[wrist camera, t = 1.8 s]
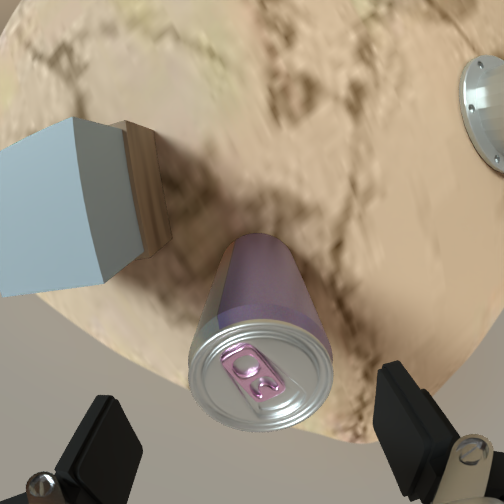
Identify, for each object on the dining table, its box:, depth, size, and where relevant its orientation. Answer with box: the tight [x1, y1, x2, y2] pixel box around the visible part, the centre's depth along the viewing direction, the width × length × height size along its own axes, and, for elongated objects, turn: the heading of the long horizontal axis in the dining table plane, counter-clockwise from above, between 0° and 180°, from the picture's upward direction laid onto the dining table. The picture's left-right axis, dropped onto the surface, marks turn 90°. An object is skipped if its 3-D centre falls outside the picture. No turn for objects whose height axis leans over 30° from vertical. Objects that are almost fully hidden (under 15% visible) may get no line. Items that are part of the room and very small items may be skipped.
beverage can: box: [188, 233, 333, 432], centre depth 18 cm, size 6×6×15 cm
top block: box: [0, 117, 144, 297], centre depth 16 cm, size 8×8×6 cm
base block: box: [108, 120, 172, 260], centre depth 21 cm, size 9×9×6 cm
